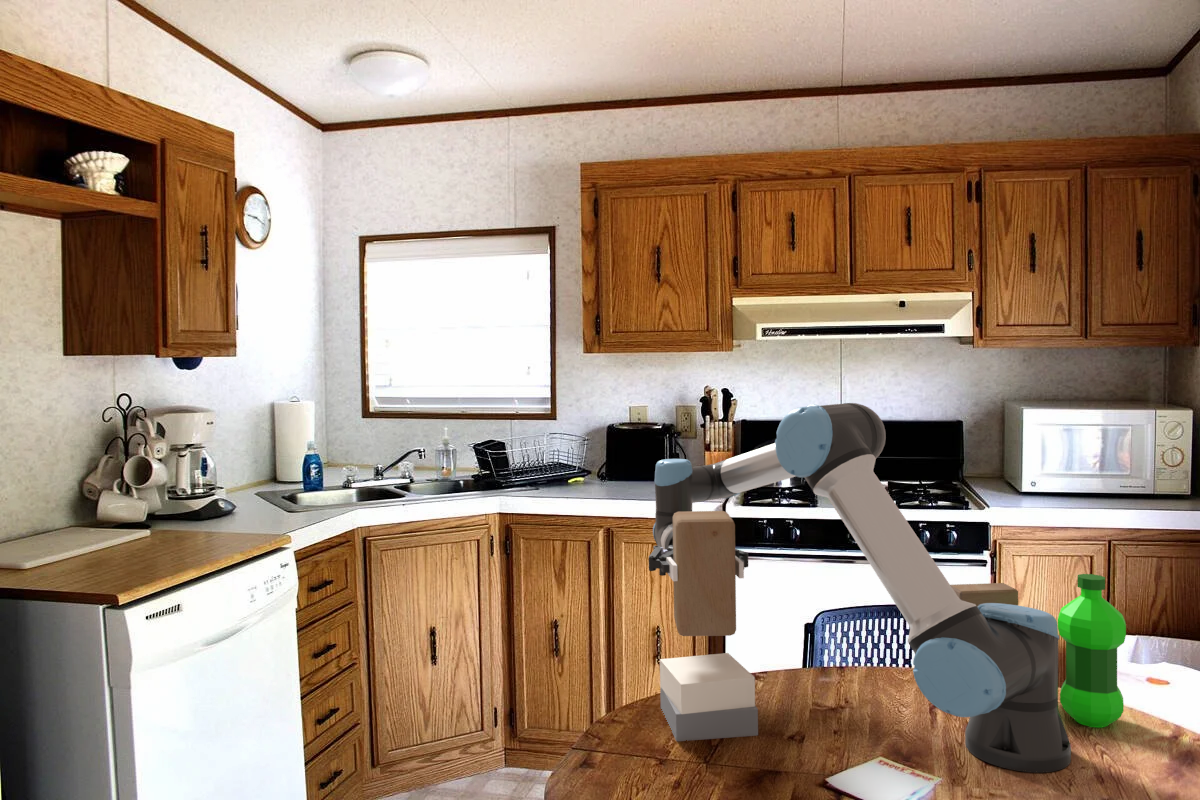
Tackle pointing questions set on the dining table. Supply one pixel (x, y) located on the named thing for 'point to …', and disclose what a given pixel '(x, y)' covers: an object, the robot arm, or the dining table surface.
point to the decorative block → (986, 593)
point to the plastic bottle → (1091, 655)
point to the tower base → (709, 722)
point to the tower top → (707, 683)
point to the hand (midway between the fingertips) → (708, 571)
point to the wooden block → (704, 573)
